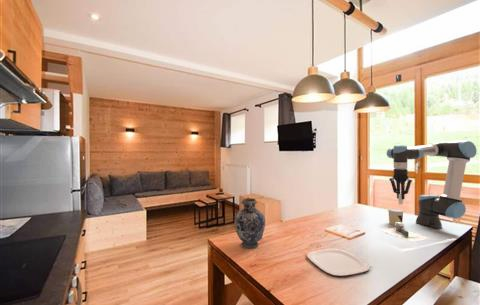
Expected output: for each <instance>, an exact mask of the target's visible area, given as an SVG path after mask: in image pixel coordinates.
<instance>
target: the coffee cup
mask: <svg viewBox="0 0 480 305" xmlns="http://www.w3.org/2000/svg"><path fill="white" fill-rule="evenodd" d="M387 212H388V222H389V224H390V225H391V226H395V222H399V223H403V218H404V210H402V209H398V208H388V209H387Z"/></svg>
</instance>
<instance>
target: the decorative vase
mask: <svg viewBox="0 0 480 305" xmlns="http://www.w3.org/2000/svg"><path fill="white" fill-rule="evenodd" d="M241 204H242V205H243V208H242V209H240V210H238V211H237V212H236V214H235V217H234V228H235V232H236V235H237V236H238V238H239V239H240V241H241V245H242V246H241V245H240V246H241V247H243V249H246V248H248V249H247V250H252V249H253V248H254V249H257V248H258V247H259V245H260V244H259V241H260V240H262V238H263V235H264V231H265V228H266V219H265V218H266V216H265V215H264V213H263V212H262V211H261V210H259V209H257V208H256V204H258V201H257V199H256V198H251V197H250V198H249V196H248V197H247V198H244V199H242V201H241Z"/></svg>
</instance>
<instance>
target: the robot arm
mask: <svg viewBox="0 0 480 305" xmlns="http://www.w3.org/2000/svg"><path fill="white" fill-rule="evenodd" d="M477 151H478V150H477V146H476V145H475V144H474V142H472V141H470V140H451V141H450V140H448V141H447V140H446V141H440V142H439V141H438V142H435V143H428V144H426V145H415V146H407V145H405V144H403V145H402V144H401V145H394V146H393V147H392V148H391V147H390V148H388V149H387V150H386V156H387V158H389V159H393V175H392V177H390V178H389V179H388V180H389V182H390V183H391V187H392V192H393V193H395V194H396V198H397V199H398V205H403V204H404V200H405V199H406V198H405V197H406V196H405V195H407V194H409V191H410V187H411V184H412V183H413V179H411V178H409V176H408V172H409V171H408V160H420V159H422V158H423V157H425V156H429V157H440V158H441V157H442V158H446V160H448V166H447V171H446V176H445V180H444V181H445V183H444V187H443V193H441V195H436V194H420V195H419V196H418V201H417V202H418V215H417V217H416V219H415V224H416V225H418V226H422V227H425V228H428V229H434V230H437V229H439V230H440V229H442V228H443V225H442V222H441V219H440V216H442V217H446V218H449V219H461V218H462V217H463V216H464V215H465V213H466V210H467V207H466V205H465V204H464V203H463V199H462V198H461V191H462V186H463V181H464V176H465V171H466V166H467V165H466V164H467V163H469V162H470V161H471V159H473V158H474V157H475V156H477ZM405 185H406V186H405Z"/></svg>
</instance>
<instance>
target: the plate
mask: <svg viewBox="0 0 480 305" xmlns="http://www.w3.org/2000/svg"><path fill="white" fill-rule="evenodd" d="M306 257H307V259H308V260H309V261H310V262H312V263H313V264H314V265H315V266H316V267H318V268H319V269H320V270H322V271H323V272H324V273H327V274H329V275H332V276H335V277H336V276H337V277H344V276H345V277H346V276H347V277H348V276H352V275H359V274H362V273H365V272H368V271H369V270H370V269H371V267H370V266H369V264H367V263H366V262H365V261H364V260H362V259H360V258H359V257H357V256H356V255H354V254H352V253H350V252H348V251H346V250H344V249H340V248H324V249H319V250H313V251H310V252H308V253H307V254H306Z"/></svg>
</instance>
